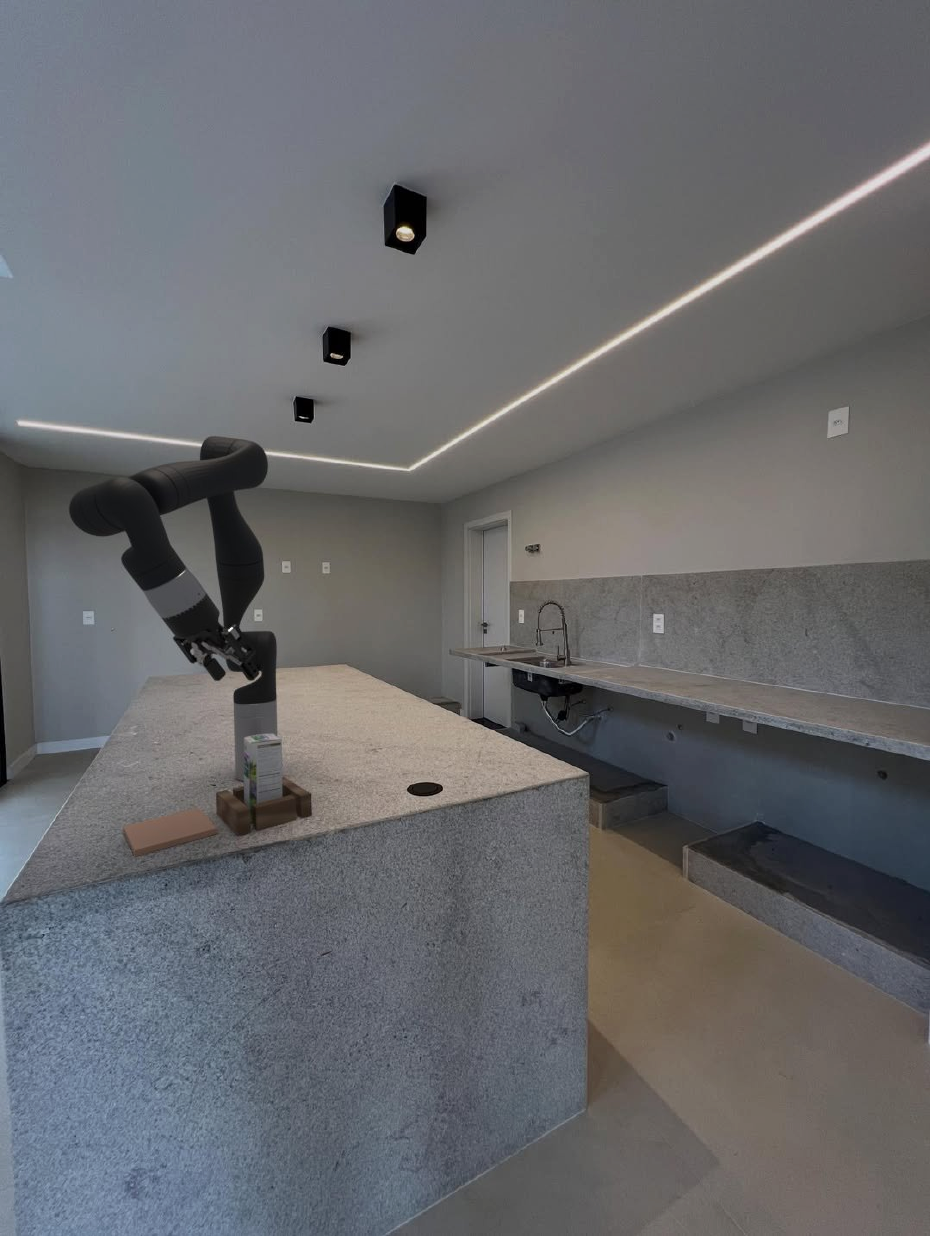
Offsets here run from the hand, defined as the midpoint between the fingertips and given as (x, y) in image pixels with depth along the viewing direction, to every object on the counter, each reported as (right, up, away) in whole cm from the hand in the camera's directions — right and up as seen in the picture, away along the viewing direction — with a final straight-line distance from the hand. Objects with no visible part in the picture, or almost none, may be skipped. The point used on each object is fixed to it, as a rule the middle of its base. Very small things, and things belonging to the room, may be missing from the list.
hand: (237, 677), depth 90 cm
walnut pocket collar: (+2, -26, +7) cm, 27 cm away
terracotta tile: (-11, -27, -1) cm, 29 cm away
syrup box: (+2, -27, +7) cm, 27 cm away
